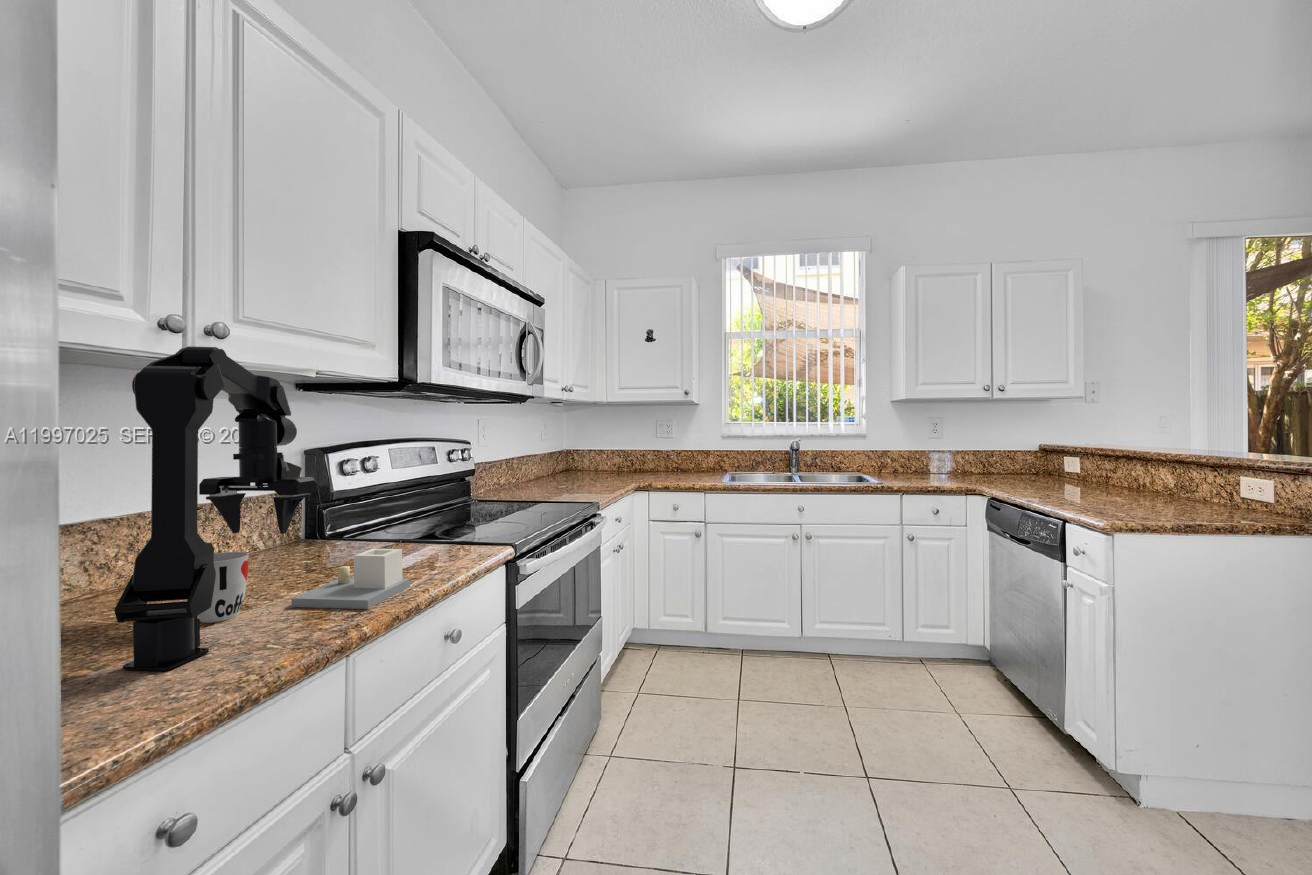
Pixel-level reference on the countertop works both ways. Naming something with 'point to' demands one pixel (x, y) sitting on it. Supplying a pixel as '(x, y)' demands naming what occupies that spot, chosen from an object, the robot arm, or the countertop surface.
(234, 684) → the countertop surface
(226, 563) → the cup
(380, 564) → the block
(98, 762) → the countertop surface
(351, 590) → the plate
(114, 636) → the countertop surface
